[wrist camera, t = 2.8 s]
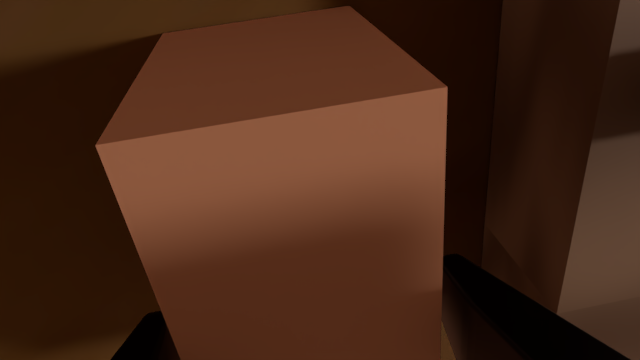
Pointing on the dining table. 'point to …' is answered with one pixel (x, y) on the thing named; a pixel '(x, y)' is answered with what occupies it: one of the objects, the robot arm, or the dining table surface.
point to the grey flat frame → (569, 163)
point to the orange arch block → (286, 189)
